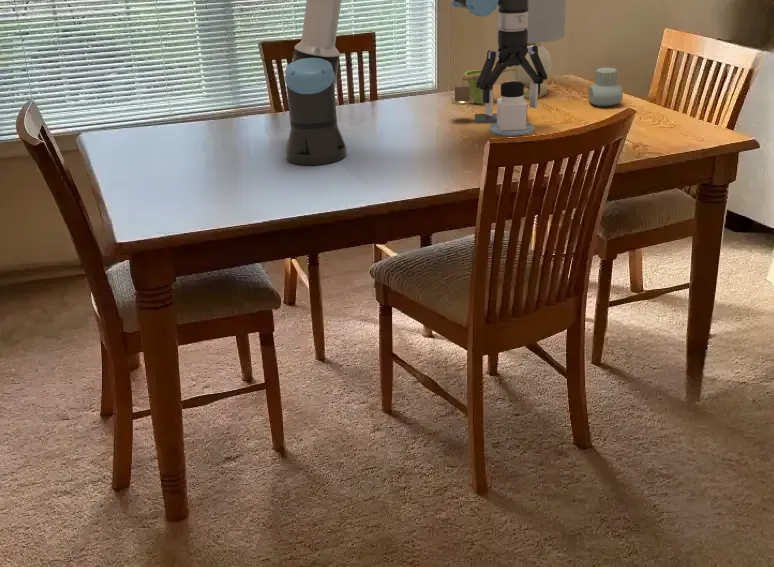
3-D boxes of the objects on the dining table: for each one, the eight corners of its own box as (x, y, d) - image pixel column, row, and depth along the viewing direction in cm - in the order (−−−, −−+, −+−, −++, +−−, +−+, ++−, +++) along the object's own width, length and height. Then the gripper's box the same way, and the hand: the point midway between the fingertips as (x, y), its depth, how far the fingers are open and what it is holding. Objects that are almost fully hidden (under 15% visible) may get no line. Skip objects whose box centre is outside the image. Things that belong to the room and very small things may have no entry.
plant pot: (461, 99, 262) (461, 71, 259) (491, 96, 264) (491, 68, 260) (469, 107, 254) (469, 77, 250) (500, 104, 255) (500, 74, 252)
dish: (503, 139, 223) (503, 136, 223) (481, 128, 233) (481, 125, 233) (543, 131, 227) (543, 128, 227) (519, 121, 237) (519, 118, 237)
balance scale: (450, 123, 239) (449, 69, 232) (451, 117, 245) (450, 64, 238) (528, 122, 236) (529, 67, 230) (527, 116, 242) (528, 62, 235)
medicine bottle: (526, 130, 227) (527, 84, 222) (499, 131, 227) (500, 86, 222) (523, 122, 233) (524, 78, 228) (496, 124, 233) (497, 79, 228)
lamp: (576, 95, 261) (581, -29, 245) (520, 105, 253) (523, -21, 237) (536, 83, 277) (539, -34, 261) (483, 92, 269) (483, -27, 254)
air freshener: (623, 108, 244) (626, 73, 240) (594, 109, 245) (596, 74, 240) (614, 99, 254) (616, 64, 250) (586, 100, 254) (588, 66, 250)
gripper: (477, 36, 211) (477, 121, 221) (562, 25, 220) (559, 107, 229) (462, 32, 218) (463, 114, 227) (546, 21, 226) (543, 101, 236)
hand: (511, 111), depth 228 cm, fingers open, 13 cm apart
